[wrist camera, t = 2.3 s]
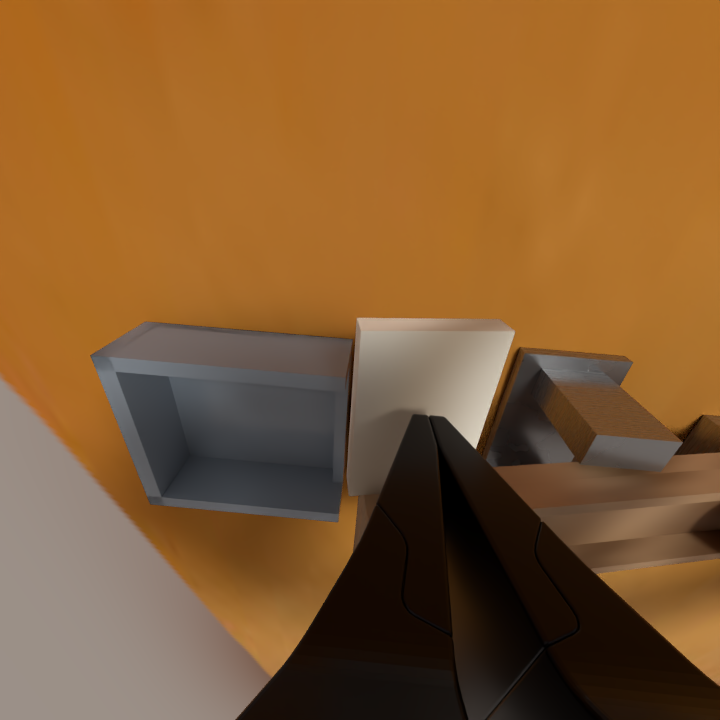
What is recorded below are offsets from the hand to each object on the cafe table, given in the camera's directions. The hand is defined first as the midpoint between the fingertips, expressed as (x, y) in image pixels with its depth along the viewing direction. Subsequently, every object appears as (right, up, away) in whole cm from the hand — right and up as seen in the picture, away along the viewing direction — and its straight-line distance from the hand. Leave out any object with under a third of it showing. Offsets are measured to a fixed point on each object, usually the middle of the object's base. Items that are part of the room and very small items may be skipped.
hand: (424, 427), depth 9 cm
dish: (-8, -1, +10) cm, 12 cm away
